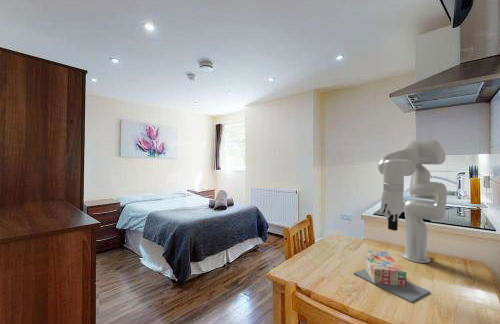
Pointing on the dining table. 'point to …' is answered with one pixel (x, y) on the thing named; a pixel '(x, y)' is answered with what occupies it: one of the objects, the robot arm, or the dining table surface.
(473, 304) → the dining table surface
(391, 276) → the stack of blocks
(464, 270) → the dining table surface
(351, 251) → the dining table surface
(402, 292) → the mat
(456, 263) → the dining table surface
